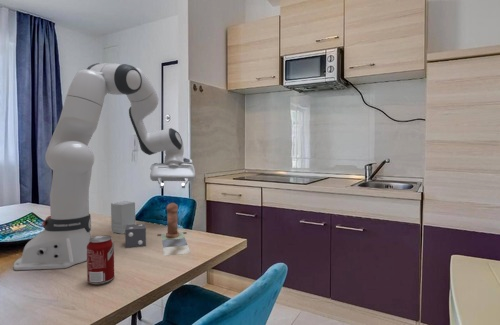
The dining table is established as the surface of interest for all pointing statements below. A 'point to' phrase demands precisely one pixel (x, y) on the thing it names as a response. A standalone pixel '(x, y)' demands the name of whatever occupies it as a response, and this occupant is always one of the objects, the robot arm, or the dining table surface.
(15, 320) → the dining table surface
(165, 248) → the game board
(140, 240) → the die
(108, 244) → the soda can
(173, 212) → the pawn
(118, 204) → the supplement box
